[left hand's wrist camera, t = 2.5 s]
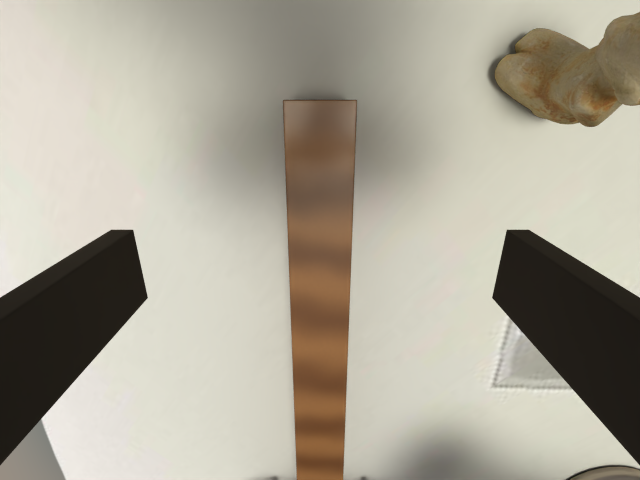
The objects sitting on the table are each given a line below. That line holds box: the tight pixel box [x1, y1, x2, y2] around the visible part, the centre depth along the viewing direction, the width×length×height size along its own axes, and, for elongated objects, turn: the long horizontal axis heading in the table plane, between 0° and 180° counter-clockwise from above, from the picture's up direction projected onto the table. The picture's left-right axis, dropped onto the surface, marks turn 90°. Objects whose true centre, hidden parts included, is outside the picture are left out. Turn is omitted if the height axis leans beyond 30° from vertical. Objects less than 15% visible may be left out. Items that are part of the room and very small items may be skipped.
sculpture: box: [495, 12, 640, 127], centre depth 22 cm, size 6×7×15 cm
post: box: [283, 100, 357, 480], centre depth 36 cm, size 54×5×8 cm, turn 0°
